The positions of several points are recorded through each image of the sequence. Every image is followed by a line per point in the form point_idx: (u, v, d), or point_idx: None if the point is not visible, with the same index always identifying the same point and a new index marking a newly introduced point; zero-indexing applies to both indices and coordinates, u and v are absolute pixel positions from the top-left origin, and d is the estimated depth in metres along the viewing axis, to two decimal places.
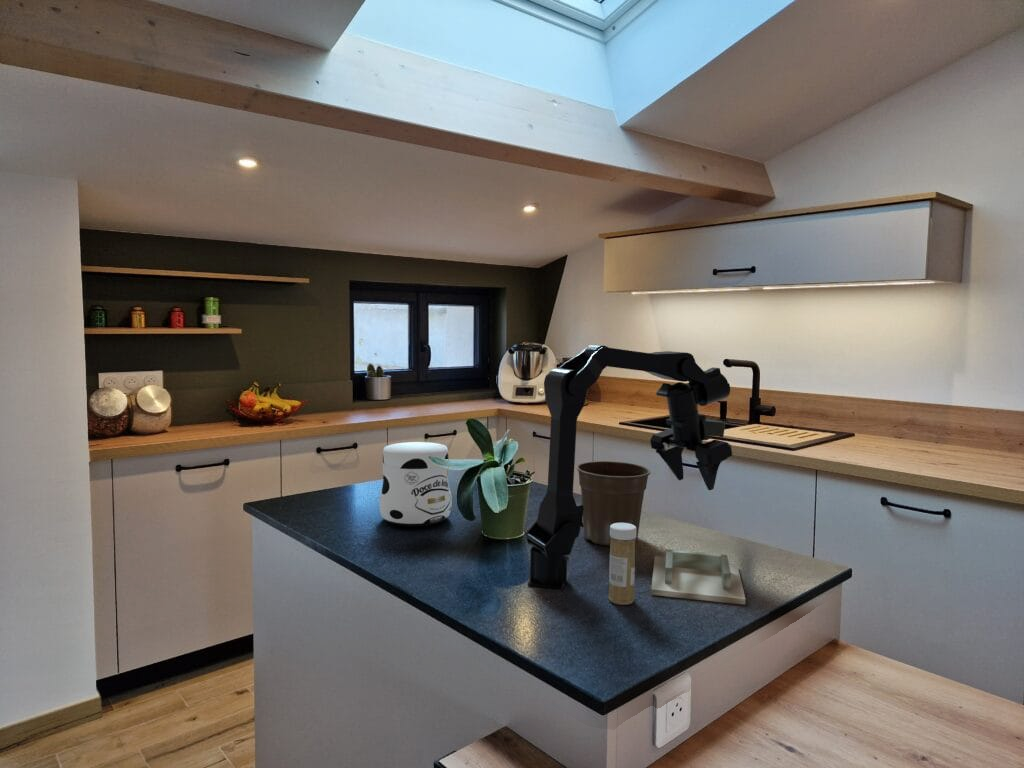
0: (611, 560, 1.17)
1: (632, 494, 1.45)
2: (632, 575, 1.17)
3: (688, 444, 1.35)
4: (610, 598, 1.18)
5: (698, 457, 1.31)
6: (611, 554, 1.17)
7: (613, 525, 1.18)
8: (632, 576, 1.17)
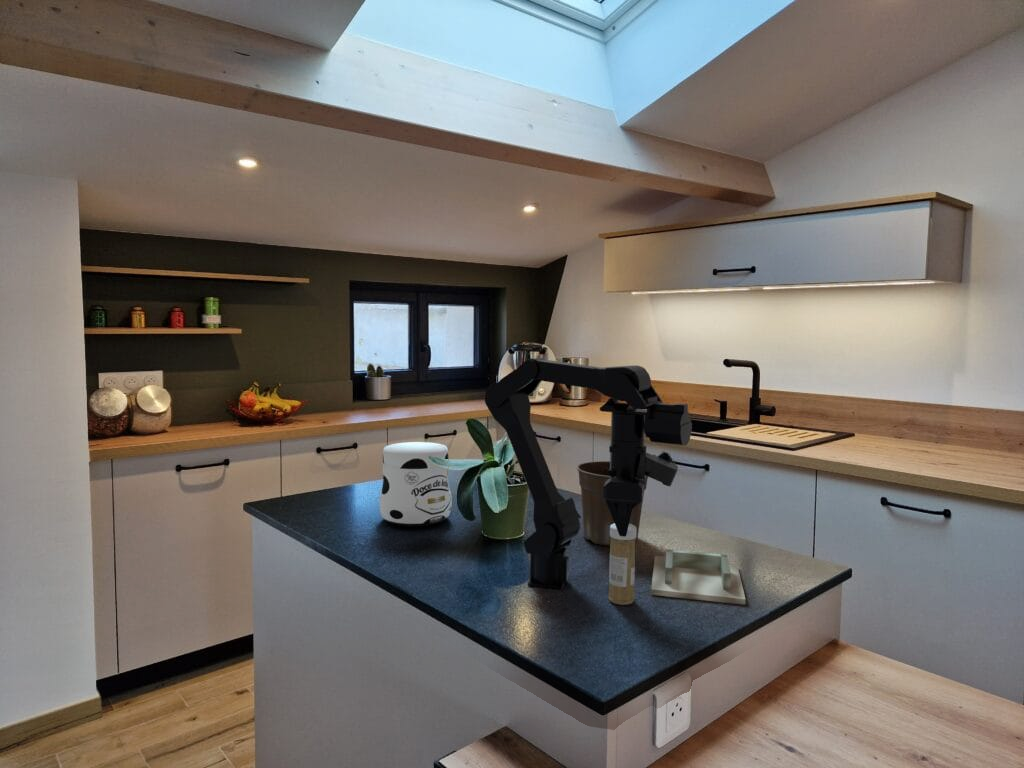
0: (611, 560, 1.17)
1: None
2: (632, 575, 1.17)
3: (613, 474, 1.15)
4: (610, 598, 1.18)
5: None
6: (611, 554, 1.17)
7: (613, 525, 1.18)
8: (632, 576, 1.17)
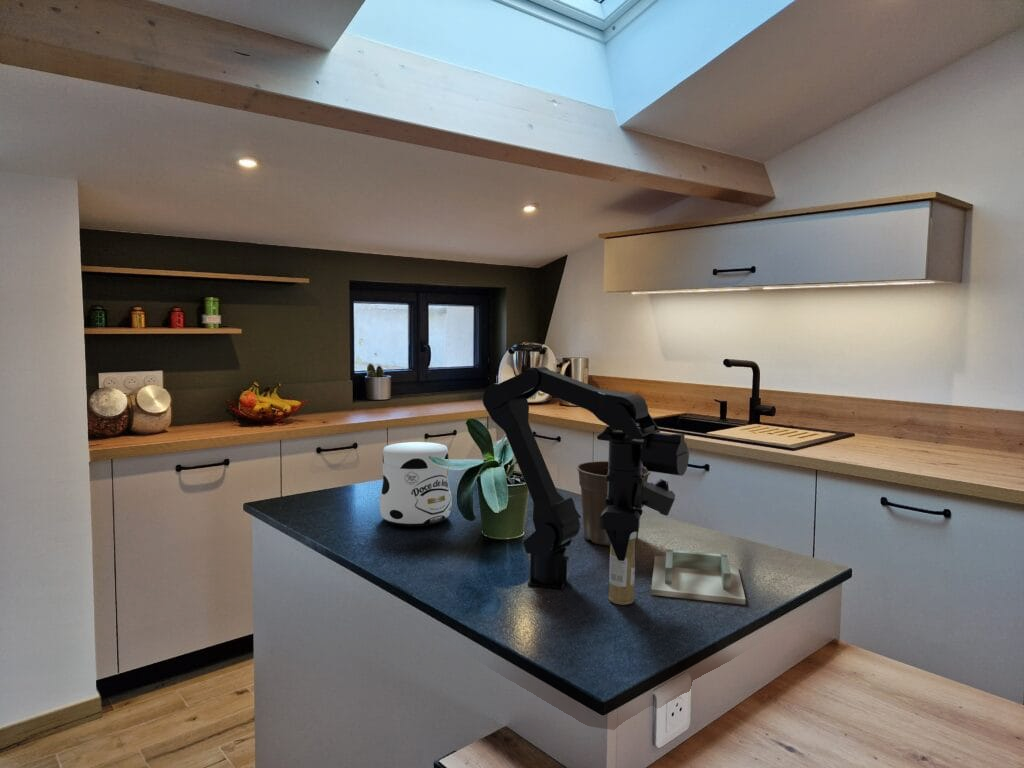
0: (611, 560, 1.17)
1: None
2: (632, 575, 1.17)
3: (611, 503, 1.15)
4: (610, 598, 1.18)
5: None
6: (611, 554, 1.17)
7: None
8: (632, 576, 1.17)
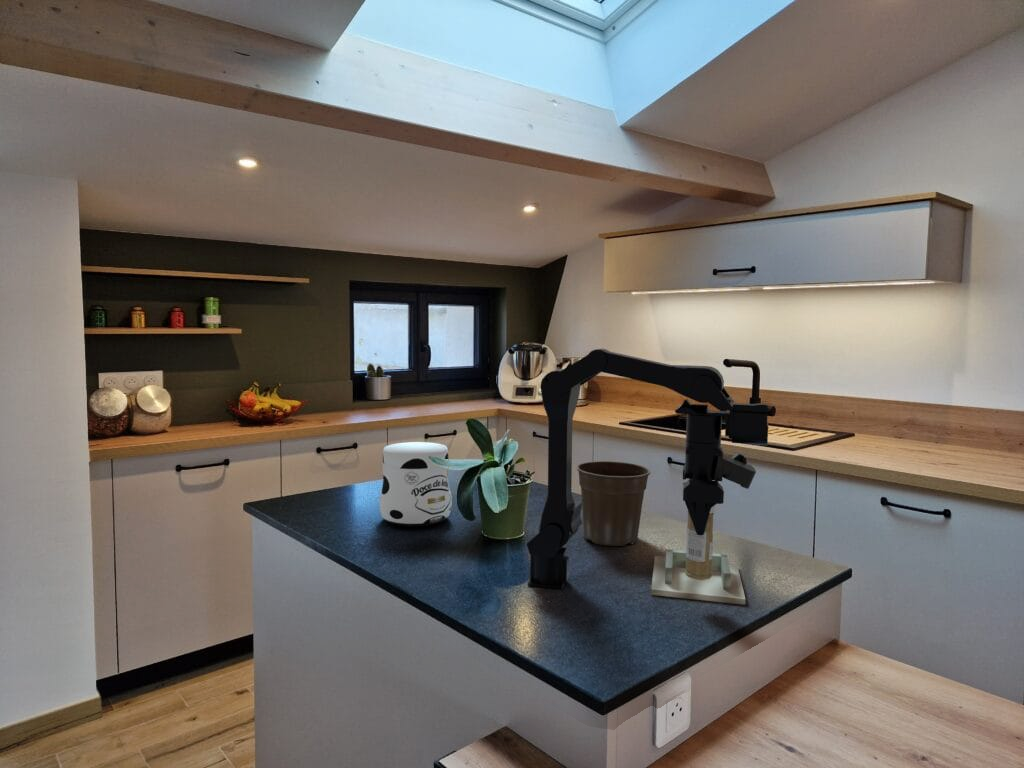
0: (689, 535, 1.16)
1: (632, 494, 1.45)
2: (711, 550, 1.15)
3: (690, 476, 1.14)
4: (687, 573, 1.16)
5: None
6: (689, 529, 1.16)
7: None
8: (711, 551, 1.15)
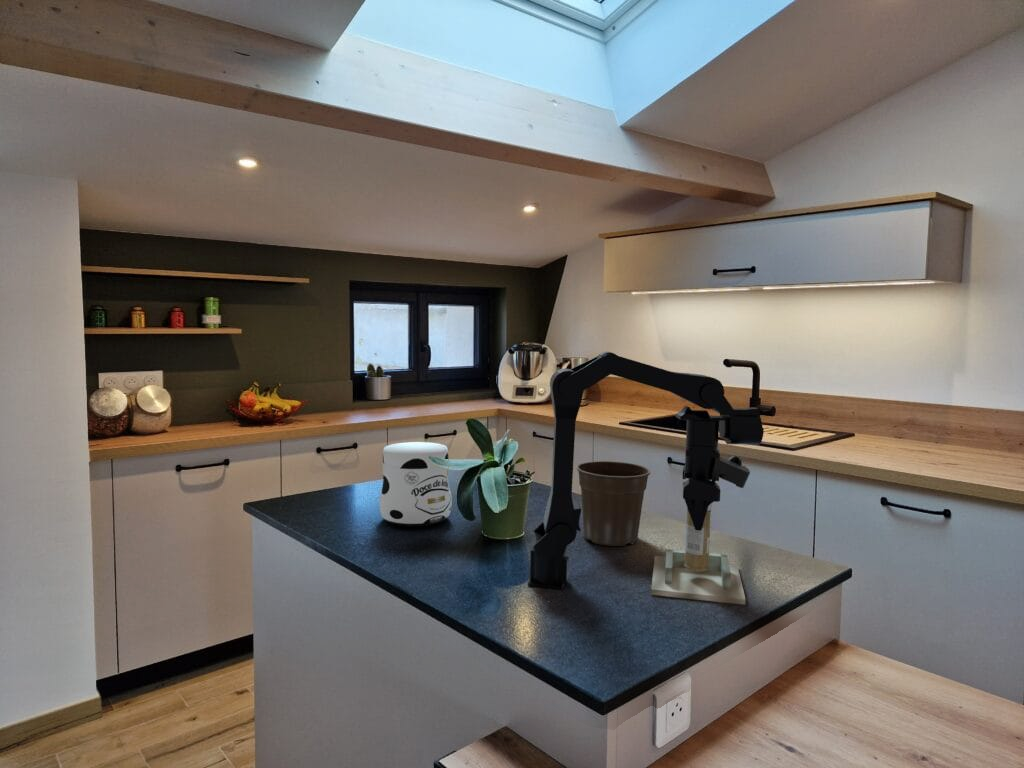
0: (688, 530, 1.26)
1: (632, 494, 1.45)
2: (708, 544, 1.25)
3: (689, 476, 1.23)
4: (686, 566, 1.26)
5: None
6: (688, 524, 1.26)
7: None
8: (708, 545, 1.25)
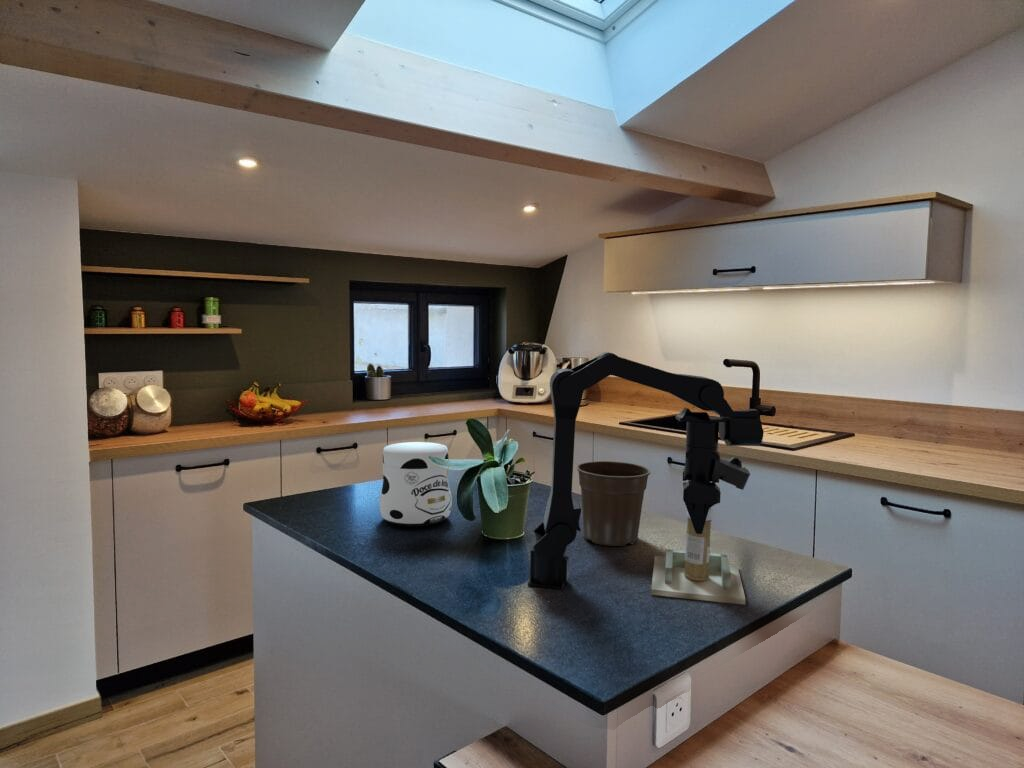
0: (688, 539, 1.26)
1: (632, 494, 1.45)
2: (708, 553, 1.25)
3: (689, 478, 1.23)
4: (686, 575, 1.26)
5: None
6: (688, 534, 1.26)
7: None
8: (708, 554, 1.25)
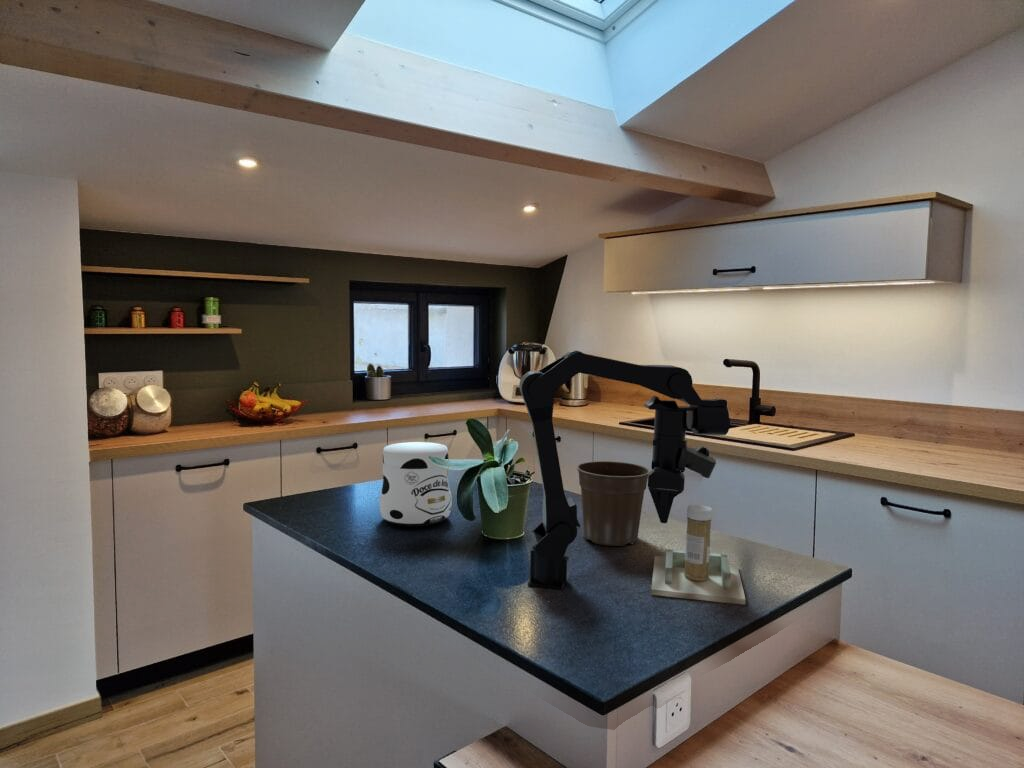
0: (688, 539, 1.26)
1: (632, 494, 1.45)
2: (708, 553, 1.25)
3: (656, 466, 1.24)
4: (686, 575, 1.26)
5: None
6: (688, 534, 1.26)
7: (690, 507, 1.26)
8: (708, 554, 1.25)
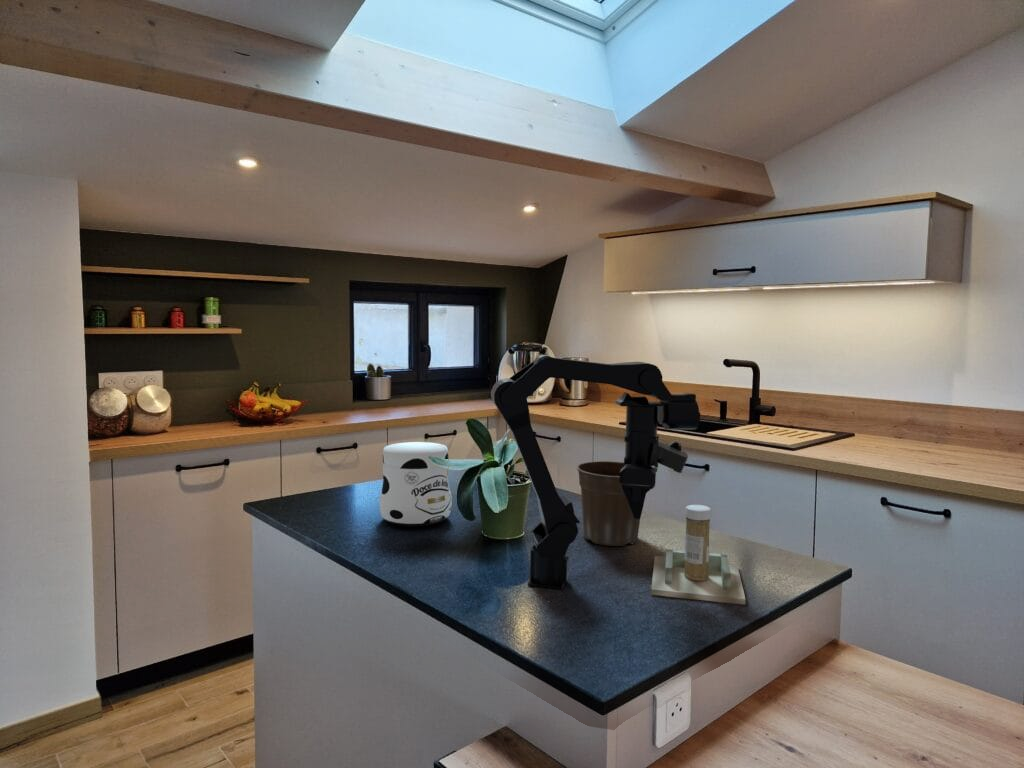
0: (687, 539, 1.26)
1: None
2: (707, 553, 1.25)
3: (628, 462, 1.25)
4: (686, 575, 1.26)
5: None
6: (687, 534, 1.26)
7: (689, 507, 1.26)
8: (707, 554, 1.25)
